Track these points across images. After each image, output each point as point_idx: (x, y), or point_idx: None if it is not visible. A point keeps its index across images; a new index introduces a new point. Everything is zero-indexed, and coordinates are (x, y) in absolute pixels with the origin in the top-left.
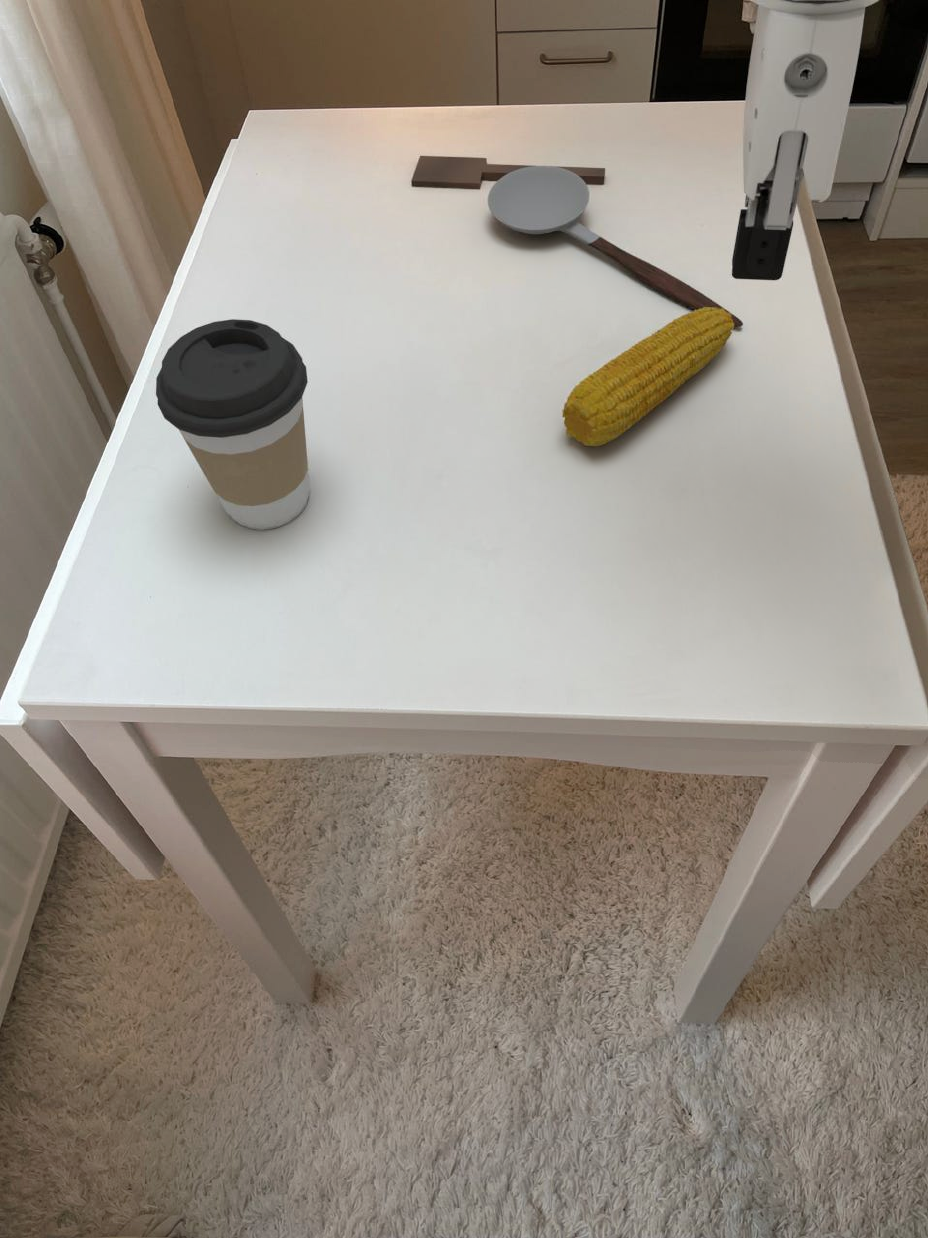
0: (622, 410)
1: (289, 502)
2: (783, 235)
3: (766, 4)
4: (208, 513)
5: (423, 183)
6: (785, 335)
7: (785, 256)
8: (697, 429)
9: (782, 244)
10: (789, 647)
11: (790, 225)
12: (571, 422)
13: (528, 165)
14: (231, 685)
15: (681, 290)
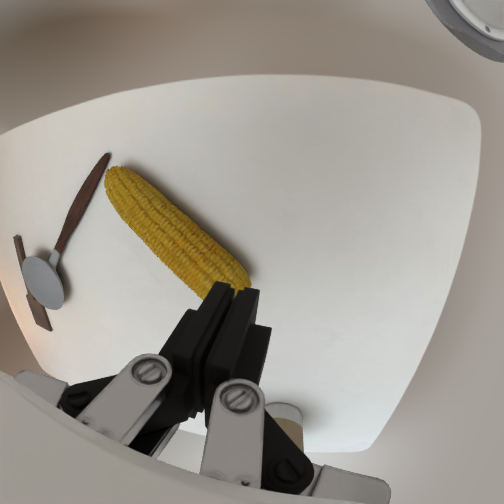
0: (231, 273)
1: (296, 418)
2: (237, 358)
3: None
4: None
5: (49, 326)
6: (113, 120)
7: (249, 316)
8: (217, 193)
9: (242, 342)
10: (435, 168)
11: (264, 399)
12: None
13: None
14: (384, 415)
15: (83, 198)
